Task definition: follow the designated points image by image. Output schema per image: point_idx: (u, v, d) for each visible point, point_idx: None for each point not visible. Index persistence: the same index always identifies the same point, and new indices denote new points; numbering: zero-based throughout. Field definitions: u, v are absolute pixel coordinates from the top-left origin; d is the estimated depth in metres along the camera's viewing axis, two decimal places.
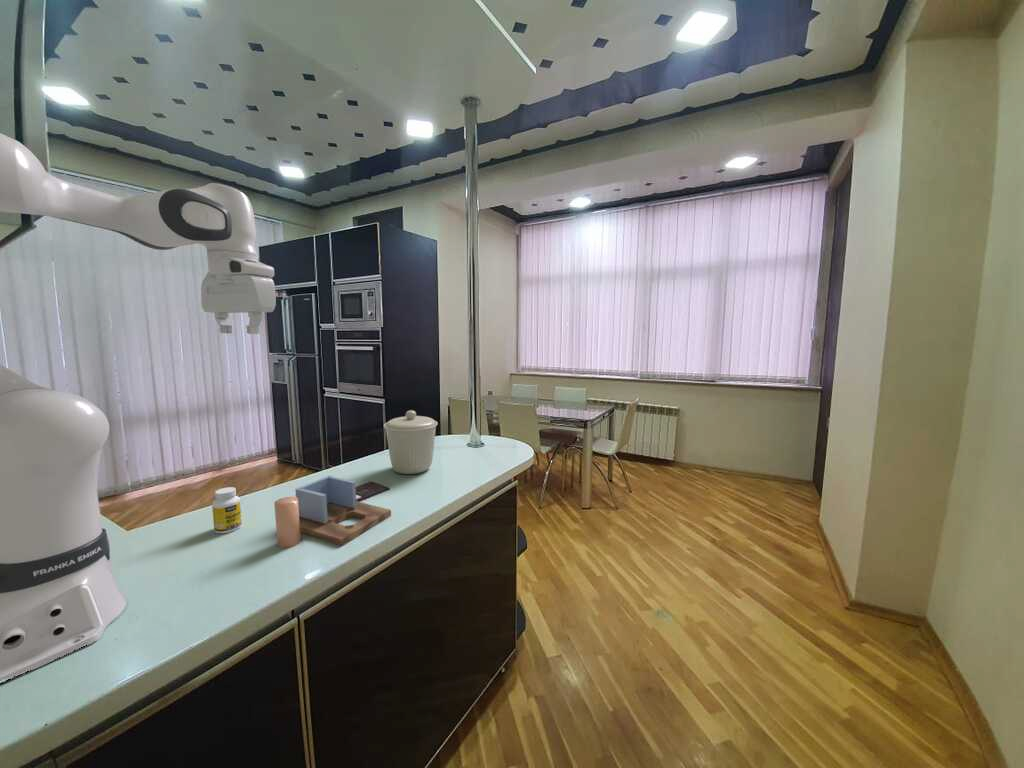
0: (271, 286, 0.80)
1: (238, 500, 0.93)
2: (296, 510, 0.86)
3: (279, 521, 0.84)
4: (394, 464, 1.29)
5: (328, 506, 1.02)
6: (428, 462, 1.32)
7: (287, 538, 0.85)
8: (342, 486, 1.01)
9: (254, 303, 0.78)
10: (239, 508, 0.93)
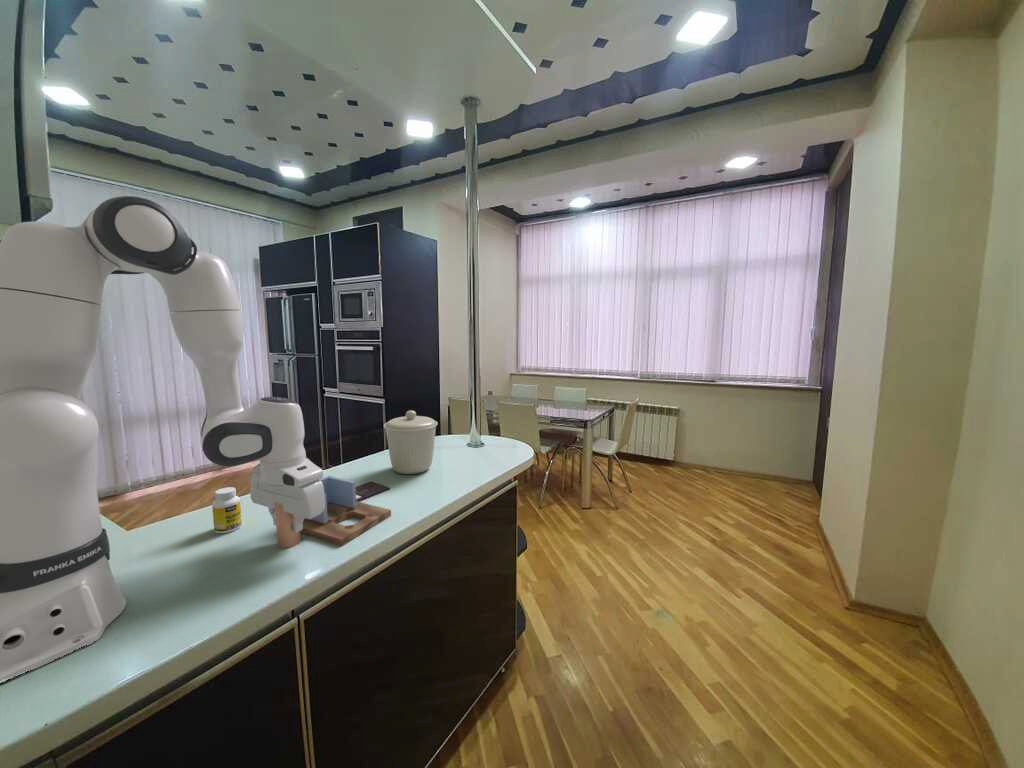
0: (321, 490, 0.83)
1: (238, 500, 0.93)
2: None
3: (279, 521, 0.84)
4: (394, 464, 1.29)
5: (328, 506, 1.02)
6: (428, 462, 1.32)
7: (287, 538, 0.85)
8: (342, 486, 1.01)
9: (306, 513, 0.81)
10: (239, 508, 0.93)
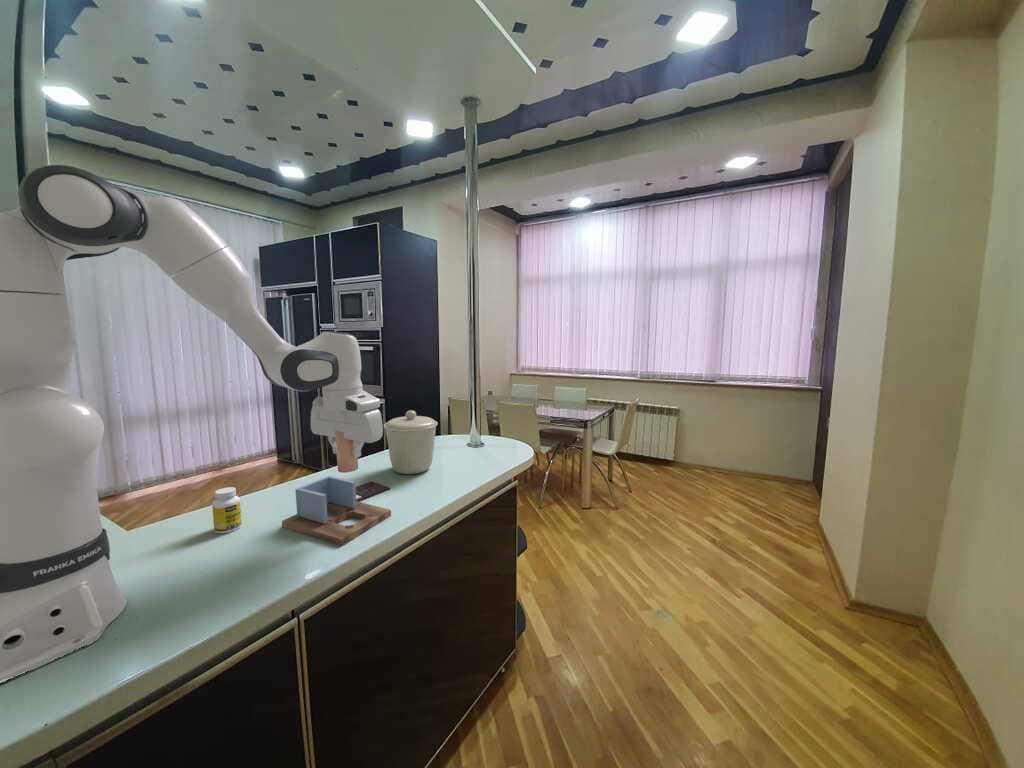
0: (379, 417, 0.90)
1: (238, 500, 0.93)
2: None
3: (340, 447, 0.91)
4: (394, 464, 1.29)
5: (328, 506, 1.02)
6: (428, 462, 1.32)
7: (347, 464, 0.92)
8: (342, 486, 1.01)
9: (367, 436, 0.87)
10: (239, 508, 0.93)
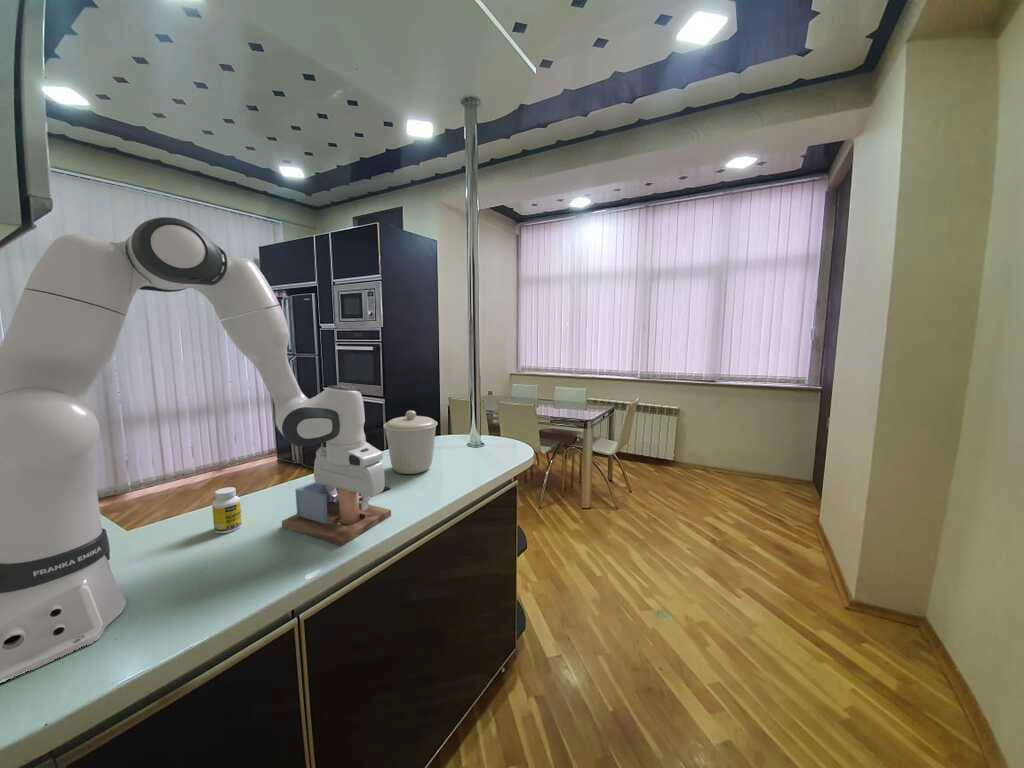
0: (381, 470, 0.91)
1: (238, 500, 0.93)
2: (357, 495, 0.94)
3: (343, 505, 0.93)
4: (394, 464, 1.29)
5: (328, 506, 1.02)
6: (428, 462, 1.32)
7: (350, 520, 0.94)
8: None
9: (370, 490, 0.89)
10: (239, 508, 0.93)
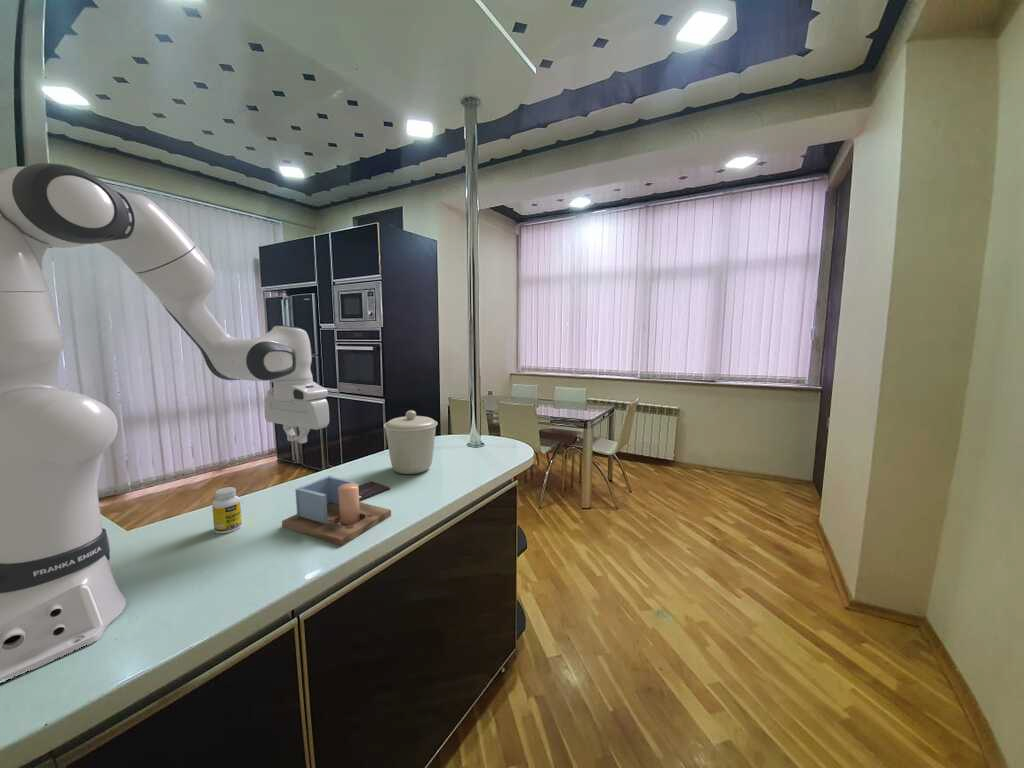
0: (326, 406, 0.96)
1: (238, 500, 0.93)
2: (357, 494, 0.95)
3: (343, 505, 0.93)
4: (394, 464, 1.29)
5: (328, 506, 1.02)
6: (428, 462, 1.32)
7: (350, 520, 0.94)
8: None
9: (313, 423, 0.94)
10: (239, 508, 0.93)
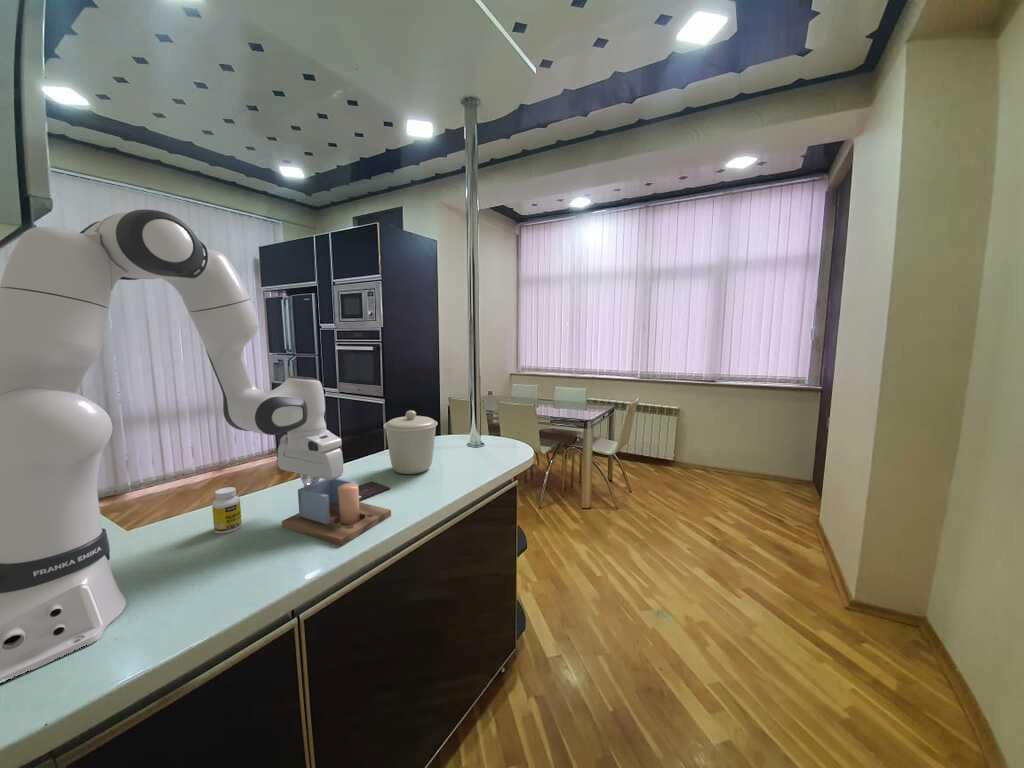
0: (340, 456, 0.97)
1: (238, 500, 0.93)
2: (357, 494, 0.94)
3: (343, 505, 0.93)
4: (394, 464, 1.29)
5: None
6: (428, 462, 1.32)
7: (349, 520, 0.94)
8: None
9: (328, 474, 0.94)
10: (239, 508, 0.93)
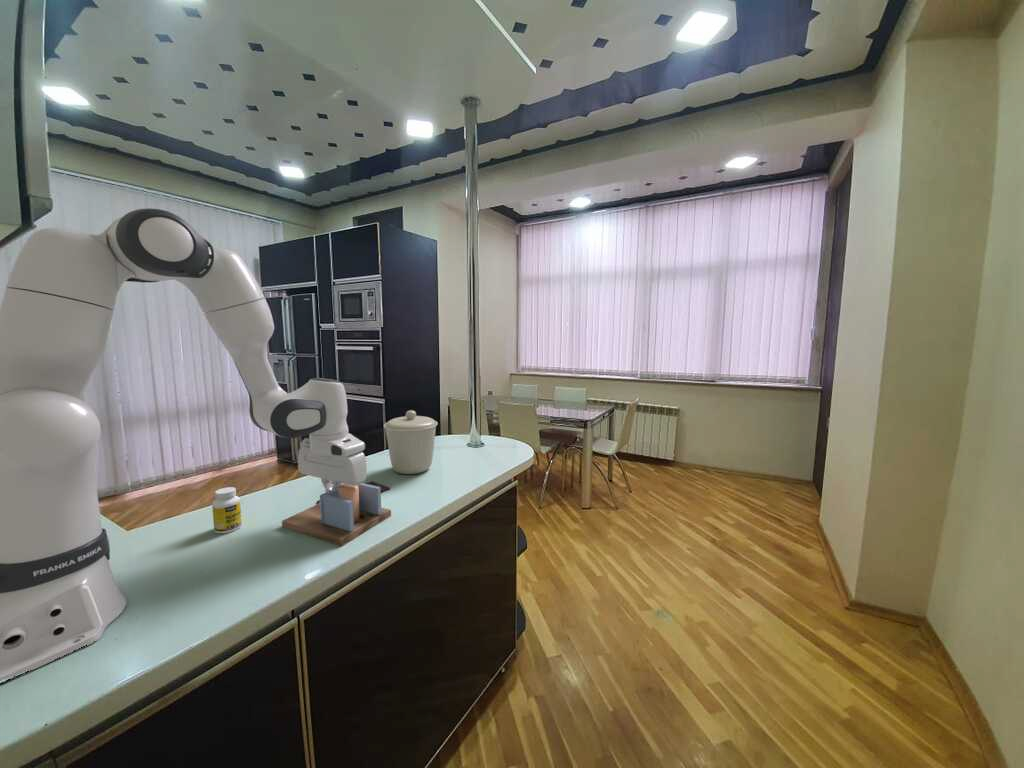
0: (363, 461, 0.93)
1: (238, 500, 0.93)
2: (357, 494, 0.95)
3: None
4: (394, 464, 1.29)
5: None
6: (428, 462, 1.32)
7: None
8: (367, 492, 0.98)
9: (352, 480, 0.91)
10: (239, 508, 0.93)
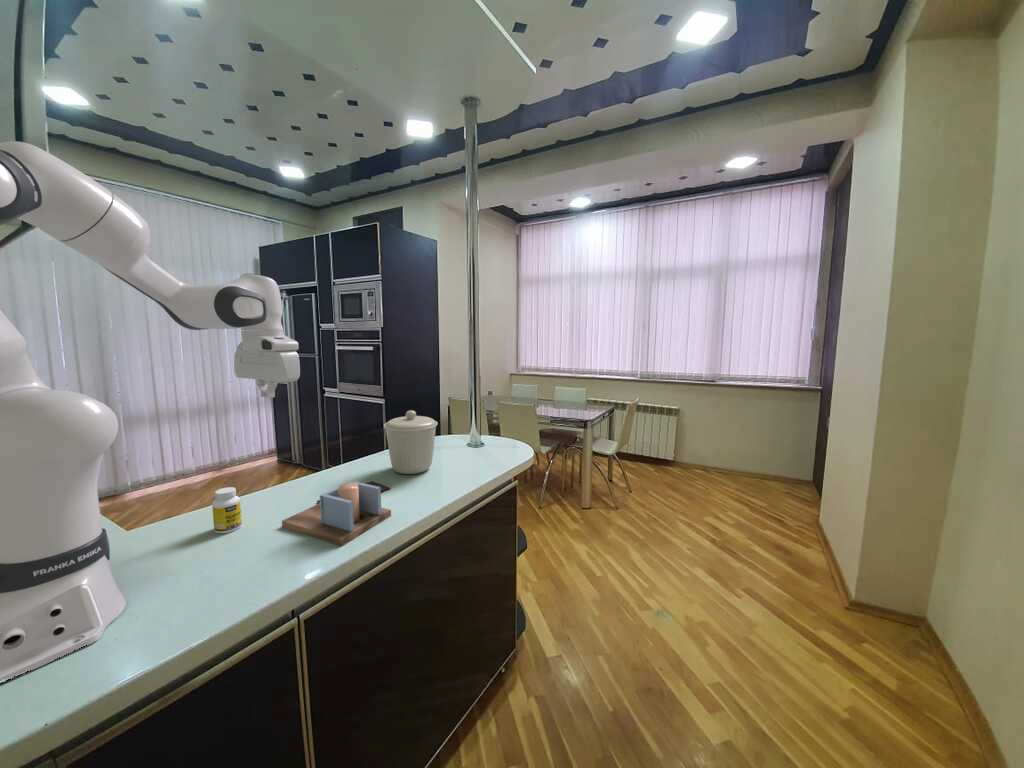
0: (296, 359, 0.93)
1: (238, 500, 0.93)
2: (357, 495, 0.94)
3: None
4: (394, 464, 1.29)
5: None
6: (428, 462, 1.32)
7: None
8: (367, 492, 0.98)
9: (283, 375, 0.91)
10: (239, 508, 0.93)
